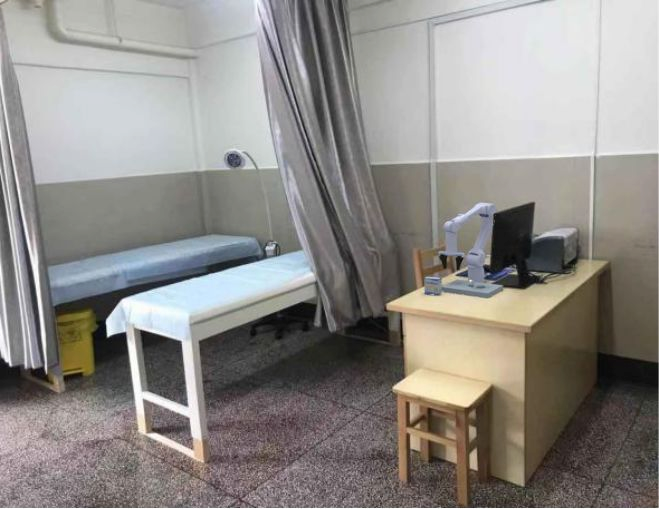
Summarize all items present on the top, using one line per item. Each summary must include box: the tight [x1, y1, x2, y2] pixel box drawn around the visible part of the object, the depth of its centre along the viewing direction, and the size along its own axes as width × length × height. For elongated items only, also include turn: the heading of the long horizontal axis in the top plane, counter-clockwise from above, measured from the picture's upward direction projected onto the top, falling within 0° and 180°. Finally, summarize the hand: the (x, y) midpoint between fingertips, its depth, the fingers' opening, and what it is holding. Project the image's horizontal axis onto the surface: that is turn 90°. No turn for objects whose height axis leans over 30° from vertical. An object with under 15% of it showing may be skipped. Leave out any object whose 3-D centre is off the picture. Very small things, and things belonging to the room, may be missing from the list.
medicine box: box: [424, 276, 443, 296], centre depth 281 cm, size 8×4×9 cm, turn 62°
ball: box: [466, 279, 474, 286], centre depth 283 cm, size 4×4×4 cm
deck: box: [442, 279, 504, 299], centre depth 283 cm, size 26×18×2 cm
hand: (451, 269), depth 290 cm, fingers open, 7 cm apart
